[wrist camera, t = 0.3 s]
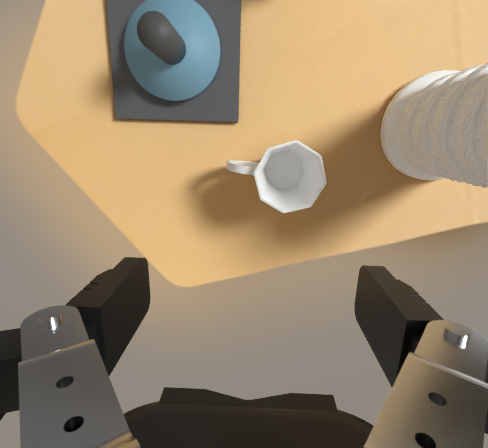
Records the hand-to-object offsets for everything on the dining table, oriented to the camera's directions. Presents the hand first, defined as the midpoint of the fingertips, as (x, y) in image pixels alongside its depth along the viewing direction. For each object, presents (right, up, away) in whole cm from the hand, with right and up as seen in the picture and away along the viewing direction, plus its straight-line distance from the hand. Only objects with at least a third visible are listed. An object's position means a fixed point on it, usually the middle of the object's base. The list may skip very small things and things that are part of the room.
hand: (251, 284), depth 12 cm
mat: (-8, +21, +23) cm, 32 cm away
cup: (+3, +9, +26) cm, 28 cm away
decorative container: (+21, +13, +24) cm, 35 cm away
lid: (-8, +21, +22) cm, 31 cm away
